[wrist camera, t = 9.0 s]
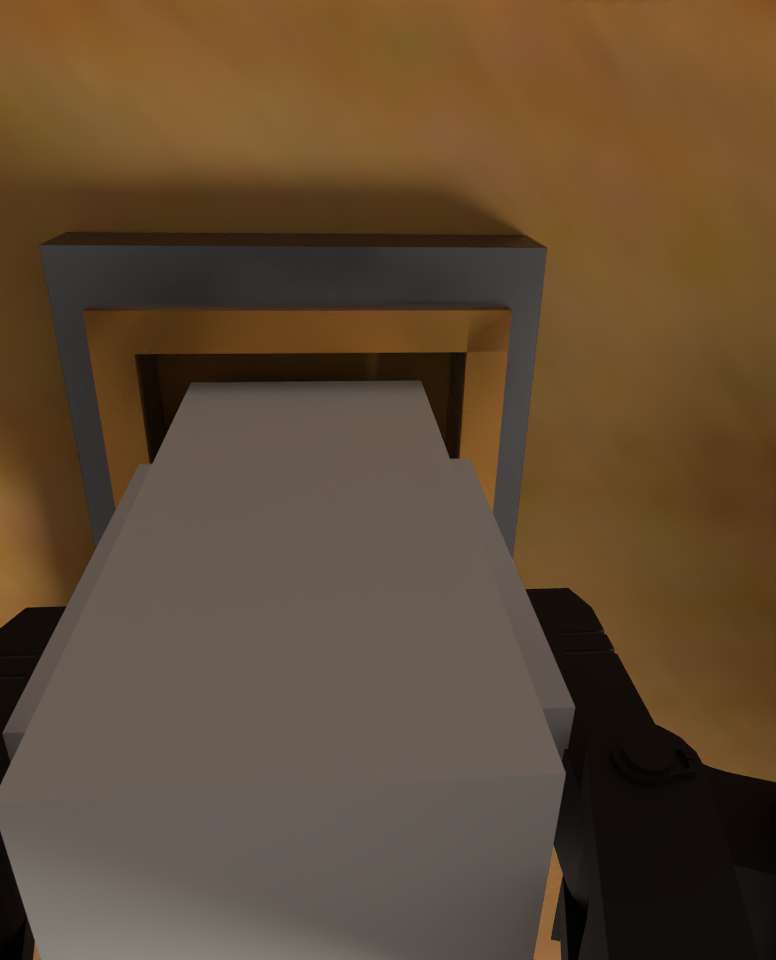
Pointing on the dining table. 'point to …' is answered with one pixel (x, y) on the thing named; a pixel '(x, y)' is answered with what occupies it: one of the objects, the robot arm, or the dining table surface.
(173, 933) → the peg
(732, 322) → the dining table surface
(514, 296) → the grey slotted plate
